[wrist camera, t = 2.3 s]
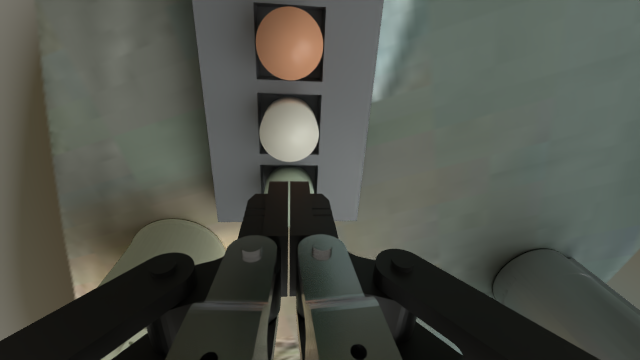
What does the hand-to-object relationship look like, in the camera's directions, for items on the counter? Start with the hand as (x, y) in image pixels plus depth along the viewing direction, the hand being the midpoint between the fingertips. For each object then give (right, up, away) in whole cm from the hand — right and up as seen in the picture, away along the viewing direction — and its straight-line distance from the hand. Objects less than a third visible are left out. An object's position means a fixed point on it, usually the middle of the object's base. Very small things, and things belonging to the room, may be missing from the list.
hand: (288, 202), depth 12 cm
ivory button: (-1, +5, +11) cm, 12 cm away
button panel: (-1, +6, +13) cm, 15 cm away
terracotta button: (-1, +10, +9) cm, 13 cm away
